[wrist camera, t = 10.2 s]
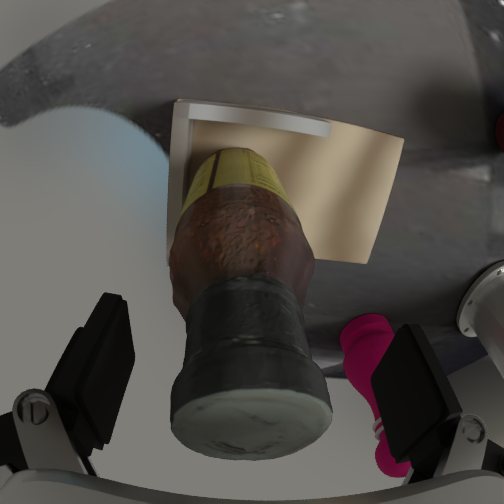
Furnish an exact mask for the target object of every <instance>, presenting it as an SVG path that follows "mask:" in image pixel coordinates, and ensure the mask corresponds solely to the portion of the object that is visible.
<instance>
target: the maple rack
mask: <svg viewBox="0 0 504 504" xmlns="http://www.w3.org/2000/svg"><path fill="white" fill-rule="evenodd" d="M403 143H404V139H402V138H400V137H398V136H394V135H391V134H387V133H384V132H380V131H377V130H373V129H369V128H365V127H362V126H358V125H354V124H349V123H345V122H341V121H337V120H332V119H328V118H323V117H318V116H313V115H308V114H303V113H297V112H292V111H286V110H280V109H274V108H267V107H260V106H253V105H245V104H237V103H228V102H218V101H206V100H193V99H177V102H174V110H173V120H172V132H171V145H170V160H169V179H168V203H167V204H168V205H167V266H169V257H170V249H171V247H172V245H173V242H174V234H175V230H176V226H177V223H178V220H179V218H180V215H181V212H182V209H183V206H184V204H185V201H186V198H187V196H188V193H189V190H190V188H191V185H192V182H193V180H194V177H195V174H196V172H197V170H198V169H199V167H200V166H201V165H202V164H203V163H204V161H205V160H207V159H208V158H209V157H210V156H211V155H212V154H213V153H215V152H216V151H218V150H222V149H227V148H236V147H239V148H249V149H251V150H253V151H255V152H256V153H257V154H259V155H261V156H262V157H264V158H265V159H266V160H267V161H269V163H270V164H271V166H272V167H273V169H274V170H275V172H276V174H277V176H278V178H279V180H280V182H281V184H282V186H283V188H284V190H285V192H286V194H287V196H288V198H289V200H290V202H291V204H292V206H293V208H294V210H295V211H296V213H297V215H298V218H299V220H300V222H301V225H302V229H303V232H304V234H305V237H306V239H307V241H308V243H309V245H310V247H311V249H312V251H313V253H314V258H316V259H325V260H335V261H344V262H354V263H363V264H367V261H368V259H369V256H370V253H371V250H372V247H373V244H374V242H375V239H376V236H377V233H378V230H379V227H380V224H381V221H382V217H383V214H384V211H385V208H386V205H387V201H388V198H389V195H390V191H391V188H392V184H393V181H394V177H395V174H396V170H397V166H398V163H399V159H400V155H401V151H402V147H403Z"/></svg>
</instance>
